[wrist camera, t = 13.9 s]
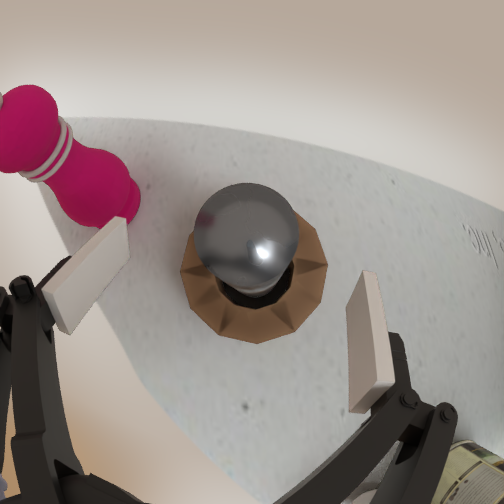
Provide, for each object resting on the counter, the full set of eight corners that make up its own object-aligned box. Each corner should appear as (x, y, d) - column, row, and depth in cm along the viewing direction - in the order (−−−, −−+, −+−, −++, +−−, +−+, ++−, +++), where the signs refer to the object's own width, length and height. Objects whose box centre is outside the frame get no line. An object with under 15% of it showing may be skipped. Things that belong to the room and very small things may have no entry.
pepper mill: (148, 169, 29) (45, 32, 10) (142, 235, 28) (-8, 135, 8) (92, 176, 29) (-23, 73, 10) (83, 237, 28) (-64, 165, 9)
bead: (324, 229, 27) (336, 215, 23) (301, 346, 26) (309, 354, 21) (211, 205, 28) (202, 188, 24) (183, 319, 26) (168, 321, 22)
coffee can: (485, 428, 22) (557, 459, 8) (469, 488, 21) (524, 529, 7) (421, 454, 23) (490, 511, 9) (407, 514, 21) (453, 575, 7)
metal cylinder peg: (281, 258, 27) (307, 194, 11) (272, 301, 26) (287, 295, 11) (238, 249, 27) (208, 175, 12) (228, 292, 27) (182, 272, 11)
